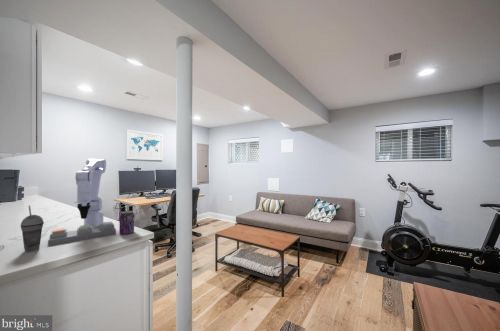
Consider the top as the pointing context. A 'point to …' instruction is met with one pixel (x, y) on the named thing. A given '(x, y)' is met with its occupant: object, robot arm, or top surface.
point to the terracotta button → (58, 230)
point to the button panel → (80, 234)
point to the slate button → (106, 223)
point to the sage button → (84, 227)
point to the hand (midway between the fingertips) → (83, 217)
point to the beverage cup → (31, 232)
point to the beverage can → (126, 222)
